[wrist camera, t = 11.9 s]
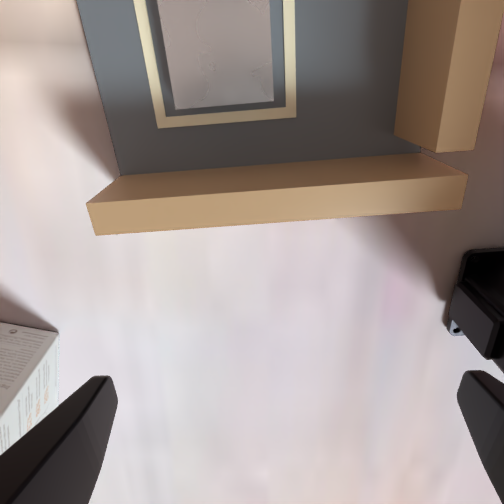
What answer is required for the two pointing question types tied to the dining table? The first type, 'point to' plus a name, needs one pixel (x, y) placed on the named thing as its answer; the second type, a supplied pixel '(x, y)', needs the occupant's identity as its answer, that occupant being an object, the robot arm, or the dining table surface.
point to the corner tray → (295, 115)
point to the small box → (26, 379)
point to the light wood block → (218, 51)
